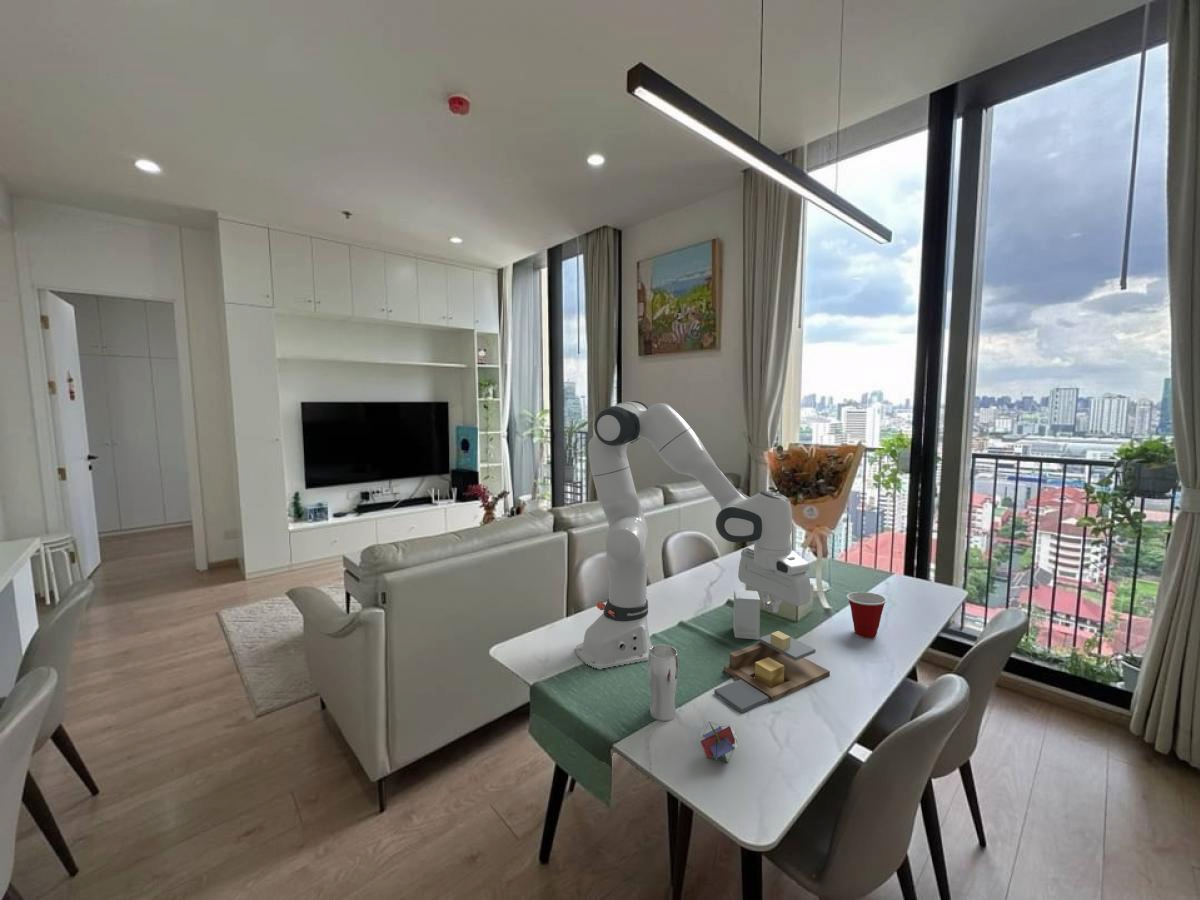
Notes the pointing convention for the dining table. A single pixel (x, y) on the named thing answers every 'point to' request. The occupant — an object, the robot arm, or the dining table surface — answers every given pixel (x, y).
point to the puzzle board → (794, 671)
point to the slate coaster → (741, 696)
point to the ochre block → (769, 672)
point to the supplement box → (746, 614)
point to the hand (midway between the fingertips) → (771, 610)
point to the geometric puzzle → (719, 742)
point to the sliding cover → (787, 645)
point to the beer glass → (663, 681)
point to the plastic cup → (866, 612)
